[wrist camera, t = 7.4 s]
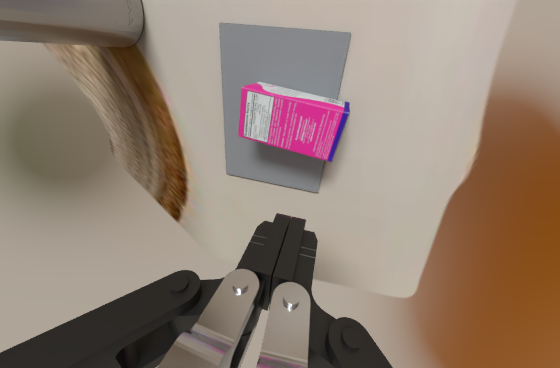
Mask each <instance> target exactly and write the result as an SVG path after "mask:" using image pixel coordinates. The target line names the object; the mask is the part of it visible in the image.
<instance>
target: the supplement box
mask: <svg viewBox="0 0 560 368" xmlns="http://www.w3.org/2000/svg"><path fill="white" fill-rule="evenodd" d="M349 114H350V110H349V102H344V101H339V100H335V99H330V98H326V97H322V96H318V95H313V94H309V93H305V92H301V91H297V90H292V89H288V88H284V87H280V86H275V85H271V84H267V83H263V82H257V83H253V84H249V85H246V86H243V87H242V88H241V103H240V117H239V128H238V137H242V138H245V139H249V140H253V141H256V142H260V143H264V144H267V145H271V146H275V147H278V148H282V149H285V150H289V151H293V152H296V153H300V154H303V155H307V156H311V157H314V158H318V159H322V160H325V161H329V162H332V160H333V158H334V155H335V152H336V149H337V147H338V144H339V141H340V138H341V136H342V133H343V130H344V128H345V125H346V122H347V120H348V117H349Z"/></svg>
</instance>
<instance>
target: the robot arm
mask: <svg viewBox="0 0 560 368" xmlns="http://www.w3.org/2000/svg"><path fill="white" fill-rule="evenodd" d="M142 28H143V10H142V4H141V0H0V41H18V42H19V41H20V42H36V43H54V44H72V45H90V46H106V47H130V46H131V45H133V44H135V43H136V41H137V40H138V39H139V37H140V35H141V32H142ZM305 222H306V220H305V219H301V218H296V217H292V218H291V216H287V215H283V214H278V213H277V214H276V216H275V219H274V221H273V223H272V222H268V221H264V222H263V223H261V224H260V225H259V226H257V228H256V230H255V232H254V235H253V236H252V238H251V240H250V242H249V244H248V246H247V248H246V250H245V252H244V254H243V256H242V258H241V260H240V262H239V264H238V266H237V268H236V269H235V270H234V271H232V272H230V273H229V274H228V275H227V276H226V277H224V278H221V279H214V280H200V279H199V277H198V275H197V274H196V273H195V272H193V271H189V270H181V271H177V272H175V273H173V274H170V275H168V276H166V277H164V278H162V279H160V280H157V281H155V282H153V283H151V284H149V285H147V286H144V287H142V288H140V289H138V290H136V291H134V292H131V293H129V294H127V295H125V296H123V297H120V298H118V299H116V300H114V301H112V302H110V303H107V304H105V305H103V306H101V307H99V308H97V309H94V310H92V311H90V312H88V313H86V314H83V315H81V316H79V317H77V318H75V319H73V320H70V321H68V322H66V323H64V324H62V325H60V326H57V327H55V328H53V329H51V330H49V331H47V332H44V333H42V334H40V335H38V336H36V337H34V338H31V339H29V340H27V341H25V342H23V343H20V344H18V345H16V346H14V347H12V348H10V349H7V350H5V351H3V352H1V353H0V368H155V367H157V366H158V365H159V366H158V367H157V368H240V367H241V364H242V362H243V359H244V356H245V354H246V352H247V349H248V346H249V344H250V342H251V339H252V337H253V334H254V332H255V329H256V325H257V322H258V319H259V316H260V313H261V310H262V309H264V310H268V307H269V314H268V319H267V324H266V328H265V333H264V338H263V343H262V347H261V352H260V356H259V359H258V362H257V366H256V368H392V366H391V365H390V363H389V362H388V360H387V359H386V357H385V356H384V355H383V353H382V352H381V350H380V349H379V347H378V346H377V345H376V343H375V342H374V340H373V339H372V338H371V336H370V335H369V333H368V332H367V330H366V329H365V328H364V327H363V326H362V325H361V324H360V323H359V322H357V321H355V320H353V319H351V318H347V317H342V318H338V319H335V318H334V317H332V316H331V315H329V314H328V313H326V312H325V311H323V310H322V309H321V308H320V307H319V306H318V305H317V304H316V302H315V301H314V299H313V296H312V291H311V287H312V279H313V272H314V264H315V257H316V249H317V242H318V241H317V238H316V235H315V233H314V232H311V231H306V230H304V227H305ZM269 304H270V306H269Z"/></svg>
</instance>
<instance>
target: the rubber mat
mask: <svg viewBox="0 0 560 368" xmlns="http://www.w3.org/2000/svg"><path fill="white" fill-rule="evenodd" d="M219 28H220V49H221V70H222V91H223V111H224V132H225V153H226V174H230V175H235V176H240V177H244V178H249V179H254V180H259V181H263V182H268V183H273V184H278V185H283V186H287V187H292V188H297V189H302V190H306V191H311V192H316V193H318V189H319V184H320V180H321V175H322V170H323V165H324V160H322V159H318V158H314V157H311V156H307V155H303V154H300V153H296V152H293V151H289V150H285V149H282V148H278V147H275V146H271V145H267V144H264V143H260V142H256V141H253V140H249V139H245V138H242V137H238V128H239V117H240V103H241V88H242V87H243V86H246V85H249V84H253V83H257V82H263V83H267V84H271V85H275V86H280V87H284V88H288V89H292V90H297V91H301V92H305V93H309V94H313V95H318V96H322V97H326V98H330V99H335V100H337V98H338V93H339V89H340V84H341V79H342V74H343V69H344V65H345V60H346V55H347V50H348V45H349V41H350V36H351V33H348V32H335V31H322V30H309V29H296V28H283V27H270V26H257V25H244V24H231V23H219Z"/></svg>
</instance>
